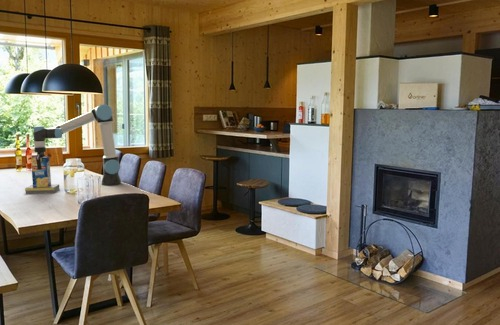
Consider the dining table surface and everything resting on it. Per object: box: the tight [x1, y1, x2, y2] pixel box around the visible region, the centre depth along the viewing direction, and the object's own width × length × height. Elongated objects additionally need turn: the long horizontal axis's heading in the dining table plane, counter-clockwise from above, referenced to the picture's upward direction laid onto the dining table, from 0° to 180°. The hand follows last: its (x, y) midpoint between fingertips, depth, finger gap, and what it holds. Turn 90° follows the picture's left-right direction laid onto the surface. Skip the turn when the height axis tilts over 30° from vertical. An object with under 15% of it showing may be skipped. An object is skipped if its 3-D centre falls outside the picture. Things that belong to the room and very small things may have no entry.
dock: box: [24, 183, 60, 195], centre depth 333 cm, size 20×14×4 cm
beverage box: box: [30, 155, 52, 187], centre depth 332 cm, size 7×11×22 cm, turn 96°
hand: (42, 178), depth 332 cm, fingers open, 2 cm apart
